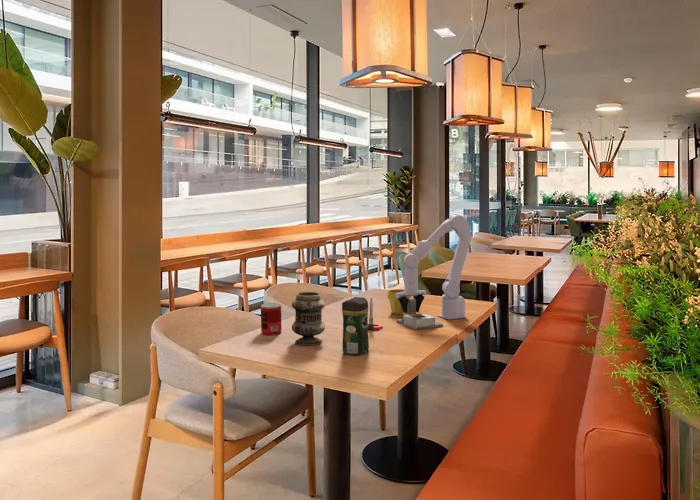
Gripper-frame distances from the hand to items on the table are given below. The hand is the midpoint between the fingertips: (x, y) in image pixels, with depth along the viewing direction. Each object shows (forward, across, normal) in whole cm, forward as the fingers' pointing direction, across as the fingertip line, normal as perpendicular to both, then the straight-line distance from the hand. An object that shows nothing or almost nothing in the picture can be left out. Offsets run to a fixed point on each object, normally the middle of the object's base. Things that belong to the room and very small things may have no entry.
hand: (411, 312), depth 246 cm
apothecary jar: (+2, +55, +16) cm, 57 cm away
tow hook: (+2, +24, +8) cm, 25 cm away
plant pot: (+2, -1, -11) cm, 11 cm away
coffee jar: (+2, +46, +35) cm, 58 cm away
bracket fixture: (+2, +4, +12) cm, 13 cm away
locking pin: (+2, 0, 0) cm, 2 cm away
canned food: (+2, +62, -4) cm, 62 cm away
